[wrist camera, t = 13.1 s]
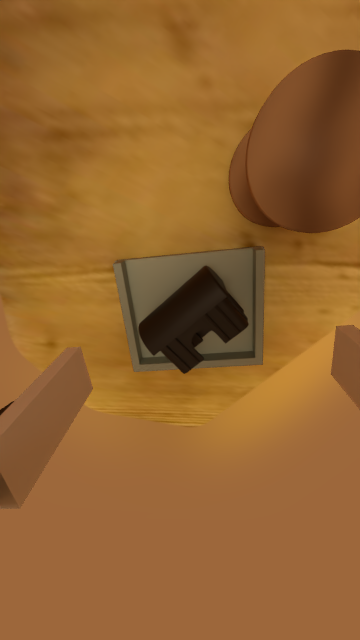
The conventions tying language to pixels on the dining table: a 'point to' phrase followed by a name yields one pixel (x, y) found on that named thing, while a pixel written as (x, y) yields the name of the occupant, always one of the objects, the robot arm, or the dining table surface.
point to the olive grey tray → (168, 276)
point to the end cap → (192, 319)
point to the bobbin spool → (304, 150)
